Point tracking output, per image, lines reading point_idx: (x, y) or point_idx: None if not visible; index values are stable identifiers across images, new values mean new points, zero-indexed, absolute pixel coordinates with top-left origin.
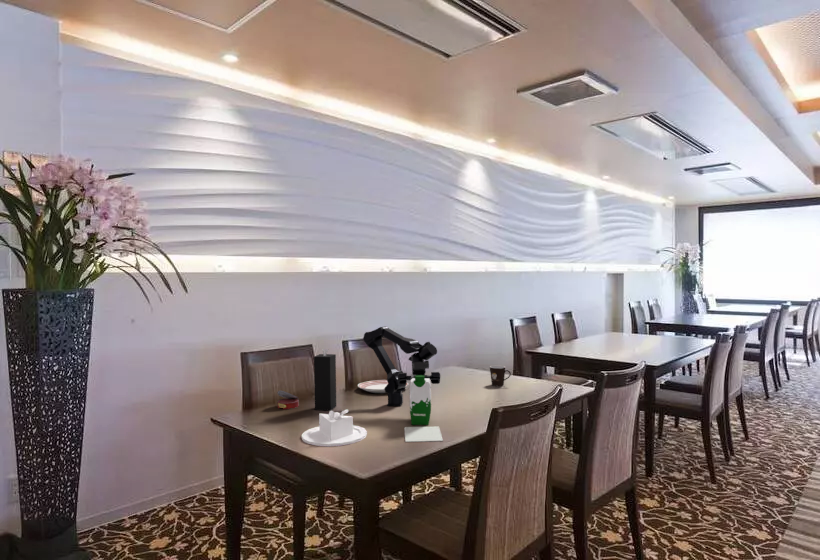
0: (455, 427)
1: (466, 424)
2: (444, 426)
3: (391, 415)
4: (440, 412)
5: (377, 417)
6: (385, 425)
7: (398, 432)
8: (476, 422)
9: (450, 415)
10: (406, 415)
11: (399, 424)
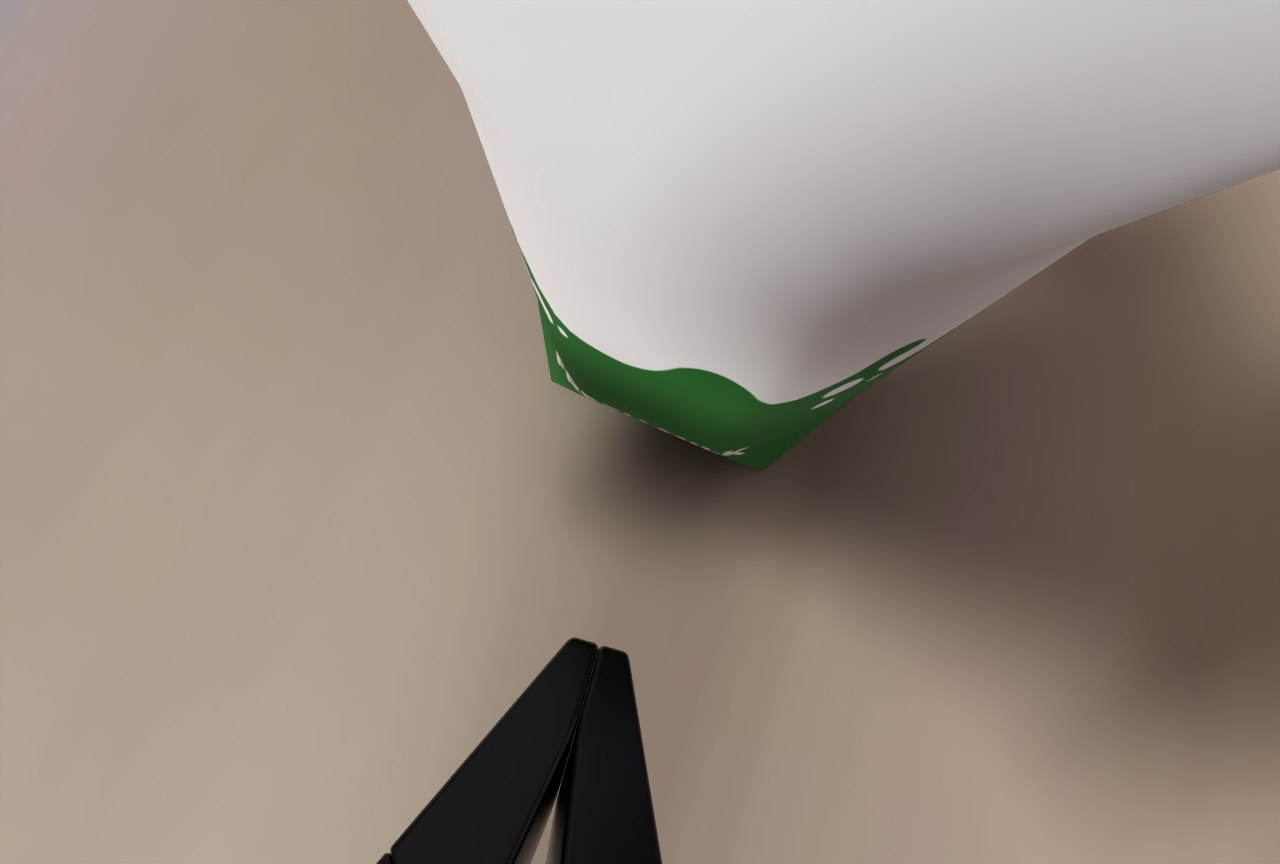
0: (373, 4)
1: (190, 62)
2: None
3: (1013, 861)
4: (213, 747)
5: (1245, 821)
6: (1175, 370)
7: None
8: (28, 92)
9: (158, 520)
10: (784, 770)
11: (989, 349)
